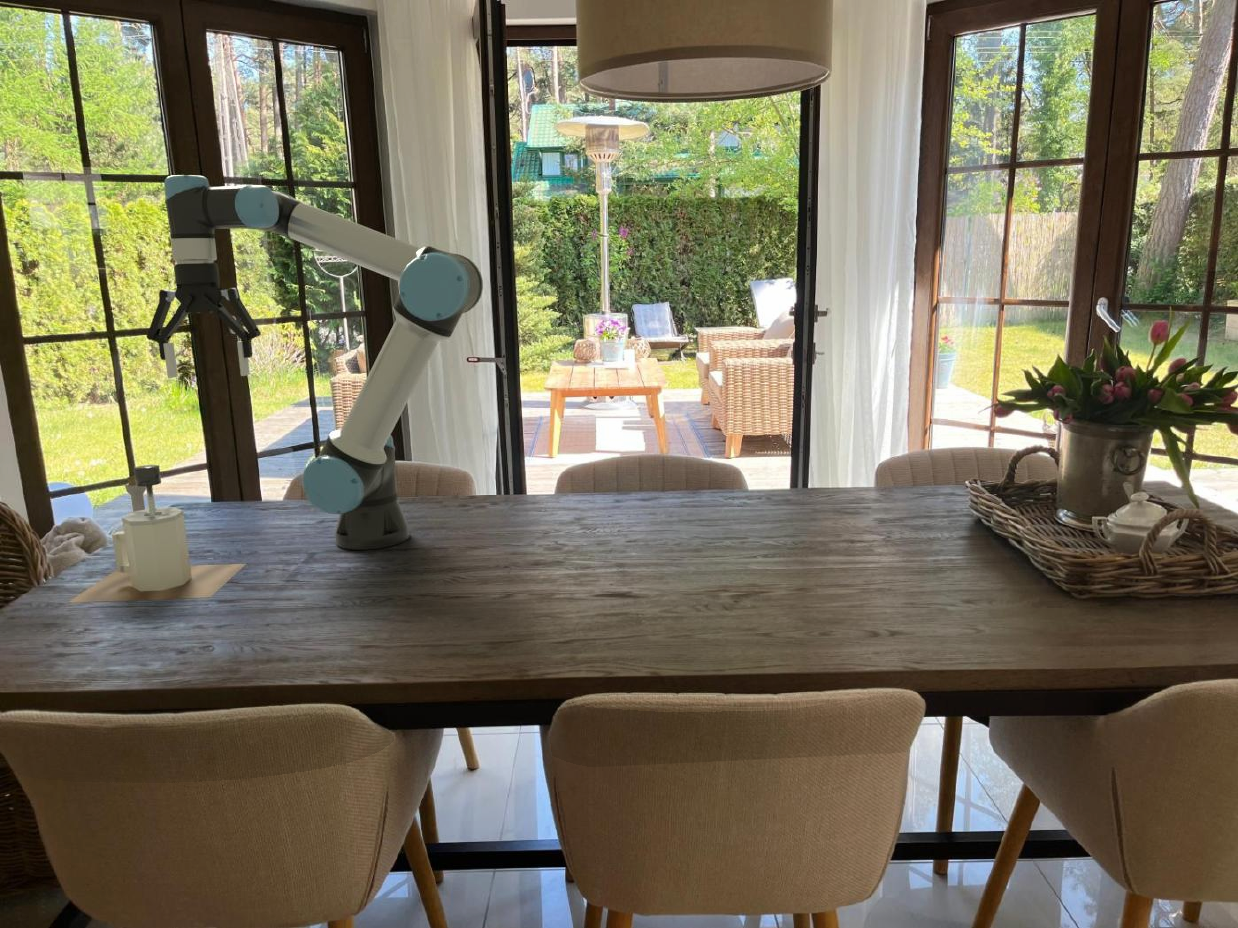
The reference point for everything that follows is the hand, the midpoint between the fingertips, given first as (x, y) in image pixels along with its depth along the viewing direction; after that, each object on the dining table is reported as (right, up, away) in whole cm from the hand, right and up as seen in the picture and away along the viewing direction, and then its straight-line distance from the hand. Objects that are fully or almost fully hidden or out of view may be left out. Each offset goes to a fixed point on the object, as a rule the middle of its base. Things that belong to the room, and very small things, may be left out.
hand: (209, 376), depth 174 cm
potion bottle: (-16, -36, +8) cm, 41 cm away
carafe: (-6, -38, -9) cm, 40 cm away
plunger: (-4, -37, -9) cm, 38 cm away
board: (-4, -40, -9) cm, 41 cm away
